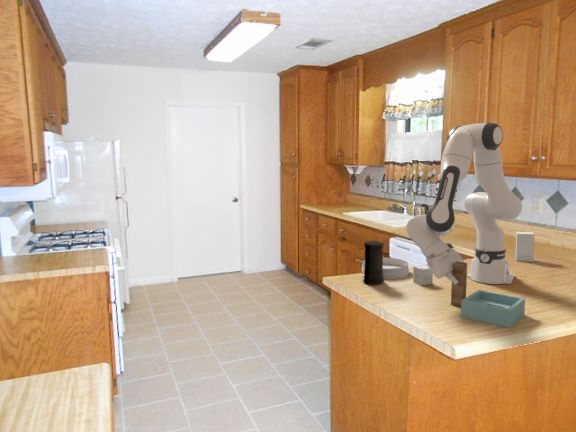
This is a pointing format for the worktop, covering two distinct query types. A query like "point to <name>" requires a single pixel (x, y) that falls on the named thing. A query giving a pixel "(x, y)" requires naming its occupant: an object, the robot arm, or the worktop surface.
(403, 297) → the worktop surface
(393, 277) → the dish
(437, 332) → the worktop surface
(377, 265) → the container
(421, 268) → the skincare box
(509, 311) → the socket
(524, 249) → the skincare box
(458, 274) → the peg
